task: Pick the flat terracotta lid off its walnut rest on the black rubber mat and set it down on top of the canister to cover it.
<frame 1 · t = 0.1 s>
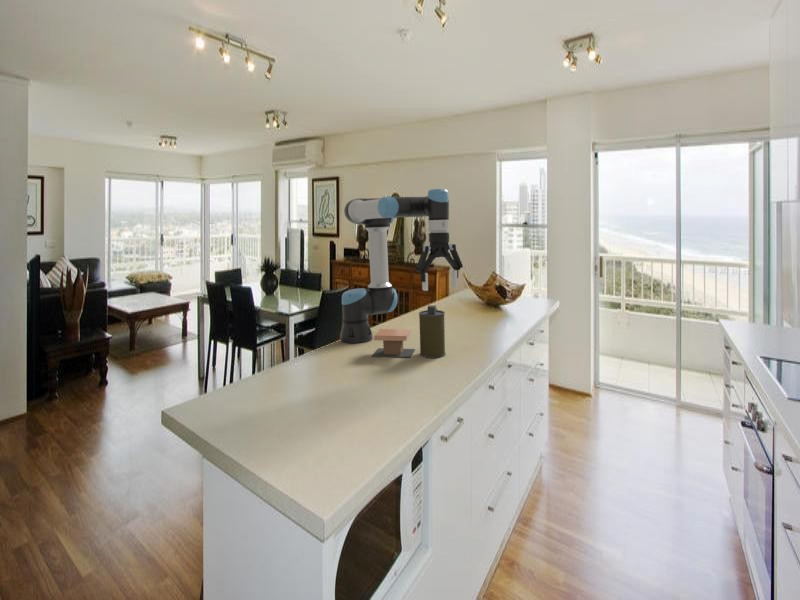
hand: (440, 288, 164), 28 cm above the worktop, fingers open, 13 cm apart
lid: (393, 337, 177), point 7 cm above the worktop, touching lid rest
canister: (432, 354, 175), on the worktop
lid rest: (393, 353, 178), on the worktop
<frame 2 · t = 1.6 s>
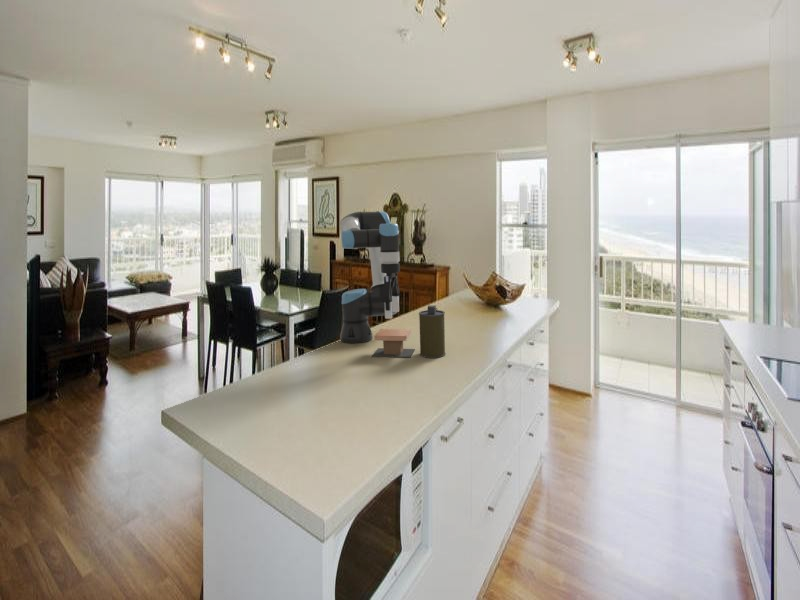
hand: (392, 315, 175), 16 cm above the worktop, fingers open, 13 cm apart
nothing on the worktop moved.
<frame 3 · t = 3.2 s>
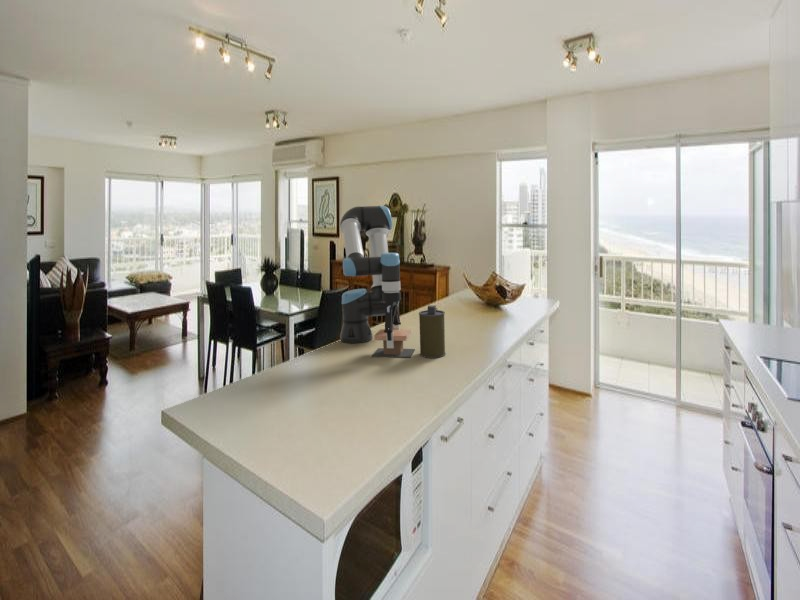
hand: (393, 344, 177), 4 cm above the worktop, fingers closed on lid, 11 cm apart
lid: (393, 337, 177), point 7 cm above the worktop, touching gripper, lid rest
everything else where it was.
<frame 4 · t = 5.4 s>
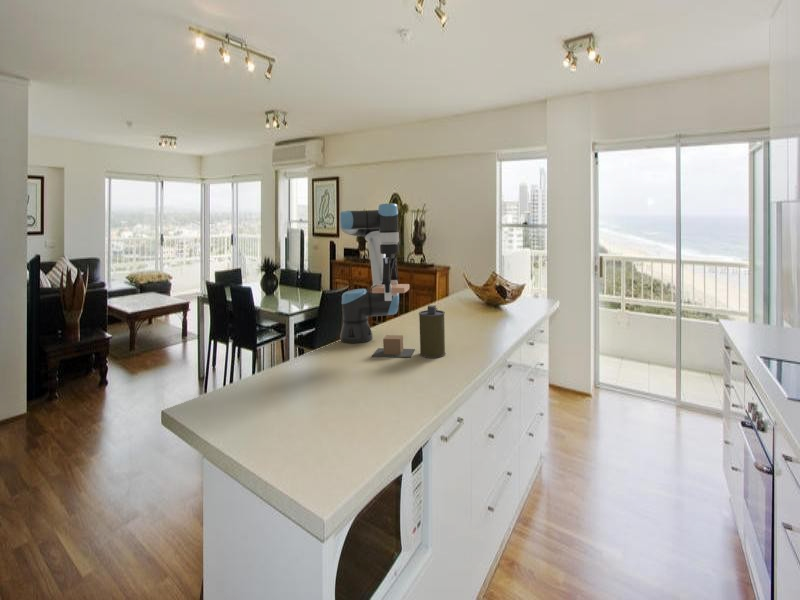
hand: (391, 298, 174), 23 cm above the worktop, fingers closed on lid, 11 cm apart
lid: (391, 290, 174), point 26 cm above the worktop, touching gripper
everything else where it was.
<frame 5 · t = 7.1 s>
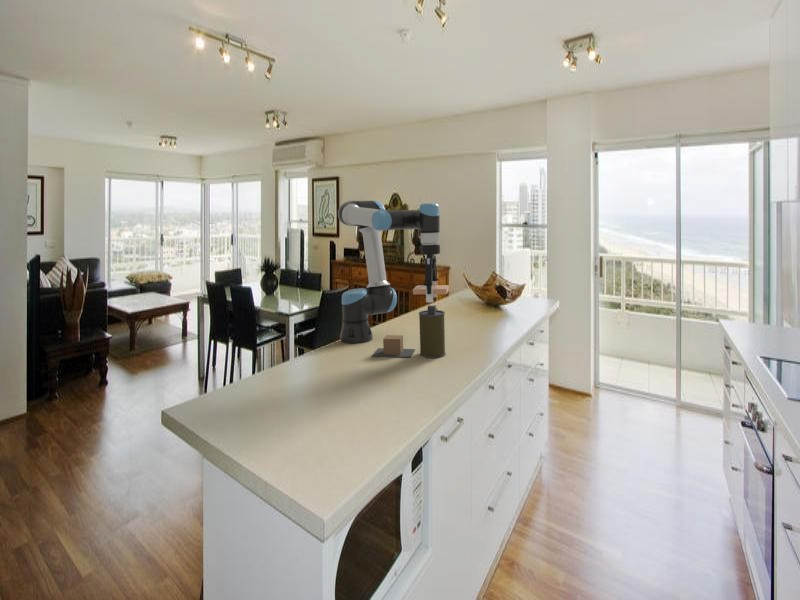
hand: (431, 299, 171), 23 cm above the worktop, fingers closed on lid, 11 cm apart
lid: (431, 292, 171), point 26 cm above the worktop, touching gripper
everything else where it was.
when the fingers open (20 cm above the worktop, at t = 8.1 s): lid drops 3 cm, resting on canister.
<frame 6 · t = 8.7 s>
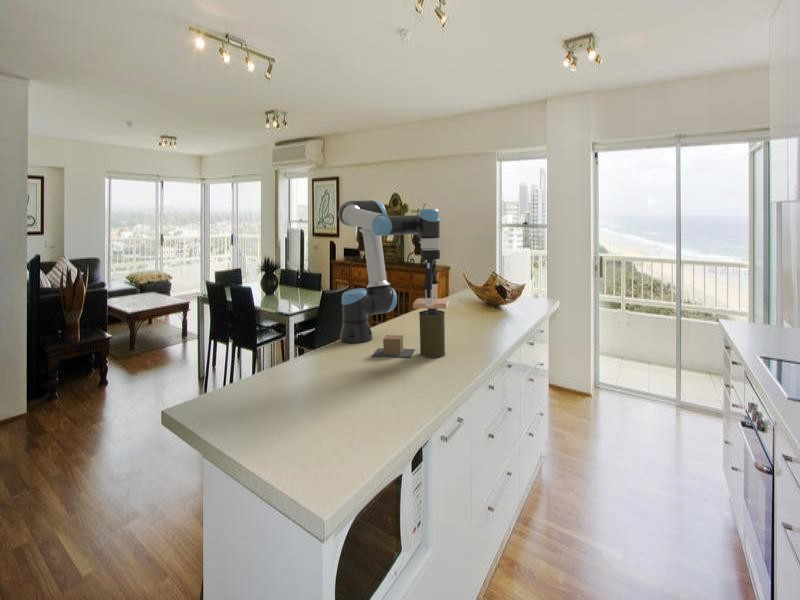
hand: (431, 302, 172), 21 cm above the worktop, fingers open, 13 cm apart
lid: (431, 305, 172), point 20 cm above the worktop, touching canister
canister: (432, 354, 175), on the worktop, touching lid
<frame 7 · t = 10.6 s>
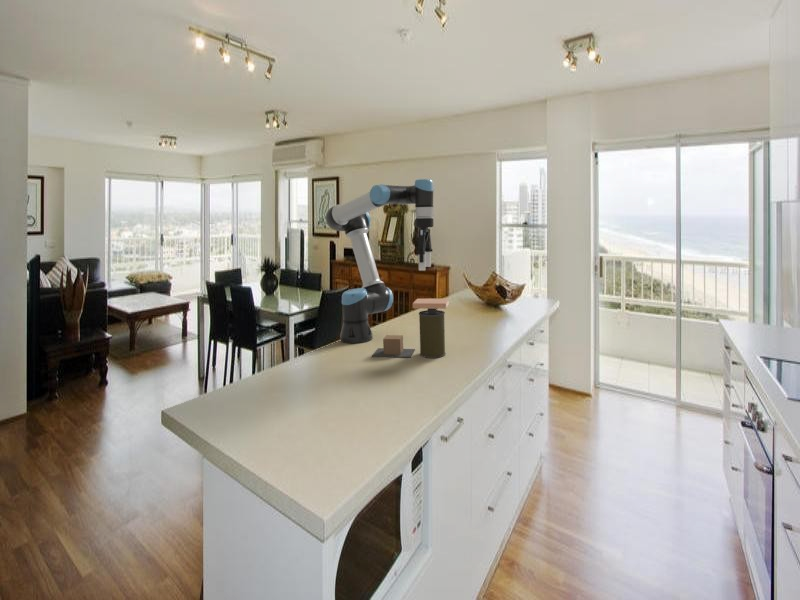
hand: (425, 268, 183), 34 cm above the worktop, fingers open, 13 cm apart
nothing on the worktop moved.
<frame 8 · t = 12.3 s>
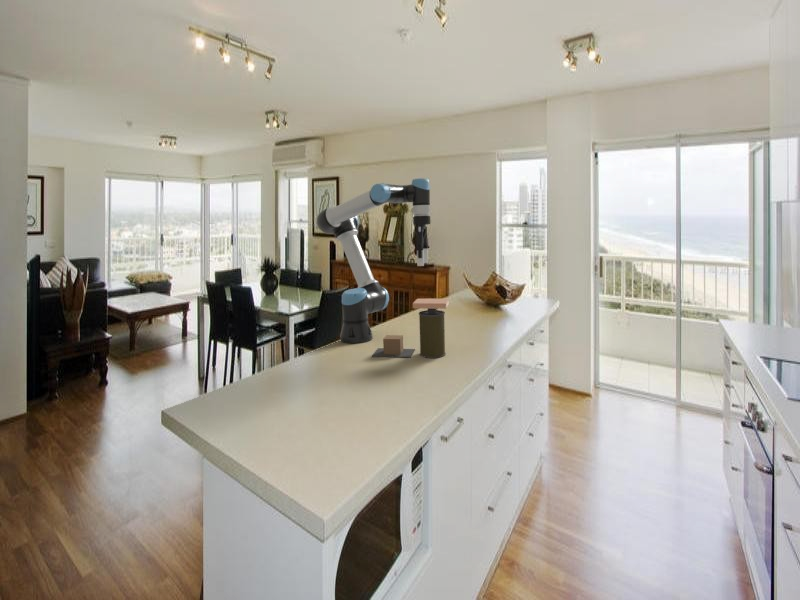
hand: (422, 264, 191), 35 cm above the worktop, fingers open, 13 cm apart
nothing on the worktop moved.
at the end: lid 0.2 cm from the canister (horizontally); lid point 20.0 cm above the worktop; lid tilted 0° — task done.
